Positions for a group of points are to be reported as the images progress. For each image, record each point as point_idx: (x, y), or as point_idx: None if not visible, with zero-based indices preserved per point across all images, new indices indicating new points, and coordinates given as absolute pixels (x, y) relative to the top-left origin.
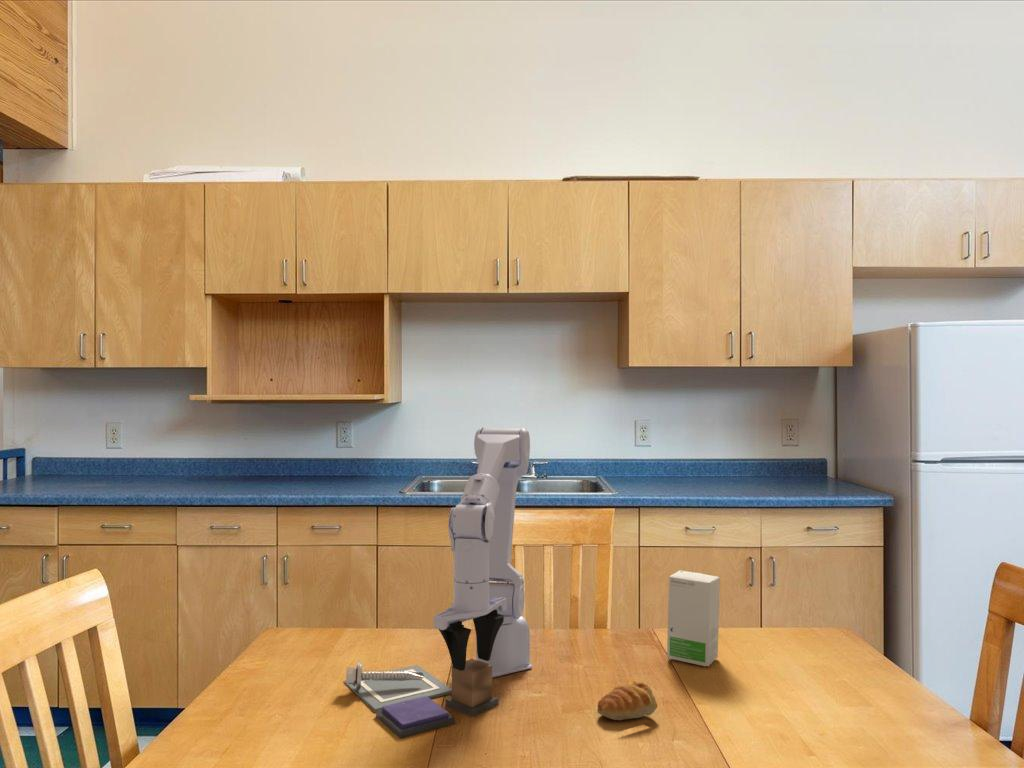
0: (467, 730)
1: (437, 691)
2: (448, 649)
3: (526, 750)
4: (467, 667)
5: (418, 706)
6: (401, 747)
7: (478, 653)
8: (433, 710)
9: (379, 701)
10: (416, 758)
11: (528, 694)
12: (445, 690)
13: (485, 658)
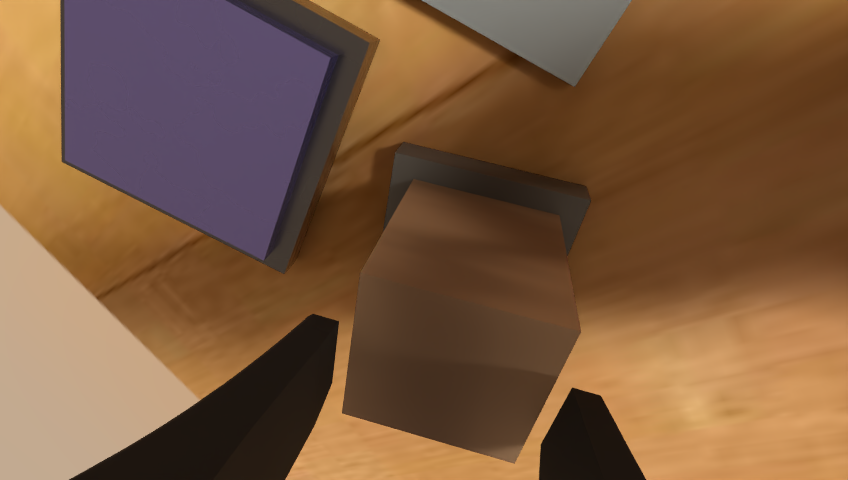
0: (287, 313)
1: (510, 5)
2: (201, 401)
3: (302, 460)
4: (399, 366)
5: (213, 108)
6: (61, 193)
7: (574, 420)
8: (234, 197)
9: None
10: (69, 267)
11: (685, 385)
12: (546, 44)
13: (545, 449)
